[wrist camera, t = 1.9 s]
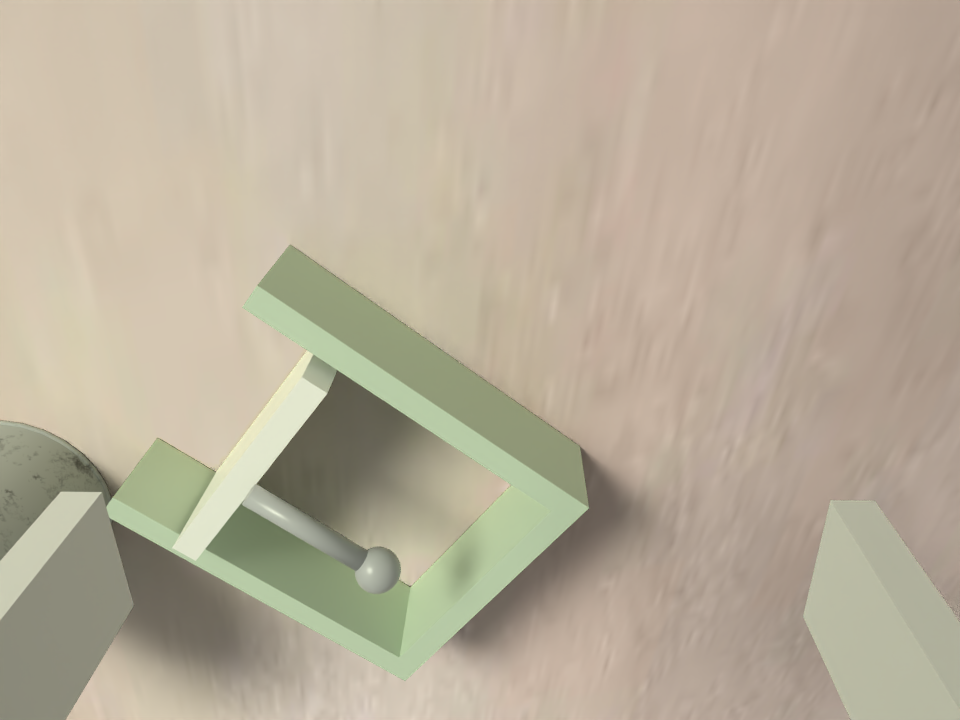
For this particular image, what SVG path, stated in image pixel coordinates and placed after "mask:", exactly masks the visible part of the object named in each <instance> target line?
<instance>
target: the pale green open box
mask: <svg viewBox="0 0 960 720" xmlns="http://www.w3.org/2000/svg"><path fill="white" fill-rule="evenodd" d="M242 308H244V309H245V310H247V311H248V312H250V313H251V314H253V315H254V316H256V317H257V318H259V319H260V320H262V321H263V322H265V323H267V324H268V325H270V326H271V327H273V328H274V329H276V330H277V331H279V332H280V333H282V334H283V335H285V336H286V337H288V338H289V339H291V340H292V341H294V342H295V343H297V344H298V345H300V346H301V347H303V348H304V349H306V350H307V351H309V352H311V353H312V354H314V355H315V356H317V357H318V358H320V359H321V360H323V361H324V362H326V363H327V364H329V365H330V366H332V367H333V368H335V369H336V370H338V371H339V372H341V373H342V374H344V375H345V376H347V377H348V378H350V379H351V380H353V381H355V382H356V383H358V384H359V385H361V386H362V387H364V388H365V389H367V390H368V391H370V392H371V393H373V394H374V395H376V396H377V397H379V398H380V399H382V400H383V401H385V402H386V403H388V404H389V405H391V406H392V407H394V408H395V409H397V410H399V411H400V412H402V413H403V414H405V415H406V416H408V417H409V418H411V419H412V420H414V421H415V422H417V423H418V424H420V425H421V426H423V427H424V428H426V429H427V430H429V431H430V432H432V433H433V434H435V435H436V436H438V437H439V438H441V439H443V440H444V441H446V442H447V443H449V444H450V445H452V446H453V447H455V448H456V449H458V450H459V451H461V452H462V453H464V454H465V455H467V456H468V457H470V458H471V459H473V460H474V461H476V462H477V463H479V464H480V465H482V466H484V467H485V468H487V469H488V470H490V471H491V472H493V473H494V474H496V475H497V476H499V477H500V478H502V479H503V480H505V481H506V482H508V483H509V484H511V486H510V487H509V488H508V489H507V490H506V491H505V492H504V493H503V494H502V495H501V496H500V497H499V498H498V499H497V500H496V501H495V502H494V503H493V504H492V505H491V506H490V507H489V508H488V509H487V510H486V511H485V512H484V513H483V514H482V515H481V516H480V517H479V518H478V519H477V520H476V521H475V522H474V523H473V524H472V525H471V526H470V527H469V529H468V530H467V531H466V532H465V533H464V534H463V535H462V536H461V537H460V538H459V539H458V540H457V541H456V542H455V543H454V544H453V545H452V546H451V547H450V548H449V549H448V550H447V551H446V552H445V553H444V554H443V555H442V556H441V557H440V558H439V559H438V560H437V561H436V562H435V563H434V564H433V565H432V566H431V567H430V568H429V569H428V570H427V571H426V572H425V573H424V574H423V575H422V576H421V577H420V578H419V579H418V580H417V581H416V582H415V583H414V584H413V585H412V586H411V587H409V586H408V585H406V584H404V583H402V582H401V581H399V580H398V582H397V583H396V585H395V586H394V587H393V588H392V589H391V590H389V591H387V592H385V593H382V594H372V593H369V592H366V591H365V590H363V589H362V588H361V587H360V586H359V584H358V583H357V581H356V578H355V571H354V570H353V569H351V568H349V567H348V566H346V565H344V564H342V563H341V562H339V561H337V560H336V559H334V558H332V557H330V556H329V555H327V554H325V553H324V552H322V551H320V550H318V549H317V548H315V547H313V546H312V545H310V544H308V543H307V542H305V541H303V540H301V539H300V538H298V537H296V536H295V535H293V534H291V533H289V532H288V531H286V530H284V529H283V528H281V527H279V526H277V525H276V524H274V523H272V522H271V521H269V520H267V519H265V518H264V517H262V516H260V515H259V514H257V513H255V512H253V511H252V510H250V509H248V508H247V507H245V506H243V505H242V503H243V501H244V500H243V501H242V503H241V504H240V505H239V507H238V508H237V509H236V510H235V512H234V513H233V514H232V515H231V517H230V518H229V519H228V521H227V522H226V523H225V524H224V526H223V527H222V528H221V529H220V531H219V532H218V533H217V535H216V536H215V537H214V538H213V540H212V541H211V542H210V543H209V545H208V546H207V547H206V549H205V550H204V551H203V552H202V554H201V555H200V556H199V557H198V559H197V560H196V561H195V560H193V559H191V558H189V557H188V556H186V555H184V554H182V553H180V552H179V551H177V550H175V549H173V548H172V547H173V546H174V544H175V542H176V540H177V539H178V537H179V535H180V534H181V532H182V530H183V528H184V527H185V525H186V523H187V522H188V520H189V518H190V516H191V515H192V513H193V511H194V510H195V508H196V506H197V504H198V503H199V501H200V499H201V498H202V496H203V494H204V492H205V491H206V489H207V487H208V486H209V484H210V482H211V480H212V479H213V477H214V475H215V474H216V472H214V471H213V470H211V469H209V468H208V467H206V466H204V465H203V464H201V463H199V462H198V461H196V460H194V459H192V458H191V457H189V456H187V455H186V454H184V453H182V452H181V451H179V450H177V449H176V448H174V447H172V446H170V445H169V444H167V443H165V442H164V441H162V440H160V439H159V438H157V439H156V441H155V442H154V443H153V445H152V446H151V447H150V448H149V450H148V451H147V452H146V454H145V455H144V456H143V458H142V459H141V460H140V462H139V463H138V464H137V466H136V467H135V468H134V470H133V471H132V472H131V474H130V475H129V476H128V478H127V479H126V480H125V482H124V483H123V484H122V486H121V487H120V488H119V490H118V491H117V492H116V494H115V495H114V496H113V498H112V499H111V501H110V502H109V504H108V505H107V507H106V508H107V512H108V515H109V518H110V519H112V520H114V521H116V522H118V523H119V524H121V525H123V526H125V527H127V528H129V529H130V530H132V531H134V532H136V533H138V534H139V535H141V536H143V537H145V538H147V539H148V540H150V541H152V542H154V543H156V544H158V545H159V546H161V547H163V548H165V549H167V550H168V551H170V552H172V553H174V554H176V555H178V556H179V557H181V558H183V559H185V560H187V561H188V562H190V563H192V564H194V565H196V566H197V567H199V568H201V569H203V570H205V571H207V572H208V573H210V574H212V575H214V576H216V577H217V578H219V579H221V580H223V581H225V582H226V583H228V584H230V585H232V586H234V587H236V588H237V589H239V590H241V591H243V592H245V593H246V594H248V595H250V596H252V597H254V598H256V599H257V600H259V601H261V602H263V603H265V604H266V605H268V606H270V607H272V608H274V609H275V610H277V611H279V612H281V613H283V614H285V615H286V616H288V617H290V618H292V619H294V620H295V621H297V622H299V623H301V624H303V625H304V626H306V627H308V628H310V629H312V630H314V631H315V632H317V633H319V634H321V635H323V636H324V637H326V638H328V639H330V640H332V641H334V642H335V643H337V644H339V645H341V646H343V647H344V648H346V649H348V650H350V651H352V652H353V653H355V654H357V655H359V656H361V657H363V658H364V659H366V660H368V661H370V662H372V663H373V664H375V665H377V666H379V667H381V668H382V669H384V670H386V671H388V672H390V673H392V674H393V675H395V676H397V677H399V678H401V679H402V680H404V681H406V680H407V679H408V678H409V677H410V676H411V675H412V674H413V673H414V672H415V671H416V670H417V669H418V668H419V667H421V666H422V665H423V664H424V663H425V662H426V661H427V660H428V659H429V658H430V657H431V656H432V655H433V654H434V653H435V652H436V651H438V650H439V649H440V648H441V647H442V646H443V645H444V644H445V643H446V642H447V641H448V640H449V639H450V638H451V637H452V636H454V635H455V634H456V633H457V632H458V631H459V630H460V629H461V628H462V627H463V626H464V625H465V624H466V623H467V622H468V621H469V620H471V619H472V618H473V617H474V616H475V615H476V614H477V613H478V612H479V611H480V610H481V609H482V608H483V607H484V606H485V605H486V604H488V603H489V602H490V601H491V600H492V599H493V598H494V597H495V596H496V595H497V594H498V593H499V592H500V591H501V590H502V589H504V588H505V587H506V586H507V585H508V584H509V583H510V582H511V581H512V580H513V579H514V578H515V577H516V576H517V575H518V574H519V573H521V572H522V571H523V570H524V569H525V568H526V567H527V566H528V565H529V564H530V563H531V562H532V561H533V560H534V559H535V558H537V557H538V556H539V555H540V554H541V553H542V552H543V551H544V550H545V549H546V548H547V547H548V546H549V545H550V544H551V543H552V542H554V541H555V540H556V539H557V538H558V537H559V536H560V535H561V534H562V533H563V532H564V531H565V530H566V529H567V528H568V527H570V526H571V525H572V524H573V523H574V522H575V521H576V520H577V519H578V518H579V517H580V516H581V515H582V514H583V513H584V512H585V511H587V510H588V509H589V504H588V497H587V491H586V484H585V477H584V471H583V464H582V457H581V451H580V446H579V445H577V444H576V443H574V442H573V441H571V440H570V439H569V438H567V437H566V436H564V435H563V434H561V433H560V432H558V431H557V430H556V429H554V428H553V427H551V426H550V425H548V424H547V423H546V422H544V421H543V420H541V419H540V418H538V417H537V416H535V415H534V414H533V413H531V412H530V411H528V410H527V409H525V408H524V407H523V406H521V405H520V404H518V403H517V402H515V401H514V400H512V399H511V398H510V397H508V396H507V395H505V394H504V393H502V392H501V391H500V390H498V389H497V388H495V387H494V386H492V385H491V384H489V383H488V382H487V381H485V380H484V379H482V378H481V377H479V376H478V375H477V374H475V373H474V372H472V371H471V370H469V369H468V368H466V367H465V366H464V365H462V364H461V363H459V362H458V361H456V360H455V359H454V358H452V357H451V356H449V355H448V354H446V353H445V352H443V351H442V350H441V349H439V348H438V347H436V346H435V345H433V344H432V343H431V342H429V341H428V340H426V339H425V338H423V337H422V336H420V335H419V334H418V333H416V332H415V331H413V330H412V329H410V328H409V327H408V326H406V325H405V324H403V323H402V322H400V321H399V320H397V319H396V318H395V317H393V316H392V315H390V314H389V313H387V312H386V311H385V310H383V309H382V308H380V307H379V306H377V305H376V304H374V303H373V302H372V301H370V300H369V299H367V298H366V297H364V296H363V295H361V294H360V293H359V292H357V291H356V290H354V289H353V288H351V287H350V286H349V285H347V284H346V283H344V282H343V281H341V280H340V279H338V278H337V277H336V276H334V275H333V274H331V273H330V272H328V271H327V270H326V269H324V268H323V267H321V266H320V265H318V264H317V263H315V262H314V261H313V260H311V259H310V258H308V257H307V256H305V255H304V254H303V253H301V252H300V251H298V250H297V249H295V248H294V247H292V246H291V245H289V246H288V248H287V249H286V250H285V251H284V253H283V254H282V255H281V256H280V258H279V259H278V260H277V261H276V263H275V264H274V265H273V266H272V268H271V269H270V270H269V271H268V273H267V274H266V275H265V276H264V278H263V279H262V280H261V281H260V283H259V284H258V285H257V287H256V288H255V290H254V291H253V293H252V294H251V295H250V297H249V298H248V300H247V301H246V303H245V304H244V306H243V307H242Z"/></svg>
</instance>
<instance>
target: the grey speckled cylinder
mask: <svg viewBox="0 0 960 720" xmlns="http://www.w3.org/2000/svg"><path fill="white" fill-rule="evenodd" d="M60 492H102V494H103V498H104V501H105V505H106V507H107V505H108V504H109V502H110V501H111V499H112V498H111V496H110V493H109V490H108V488H107V485H106V483H105V481H104V480H103V478H102V477H101V475H100V473H99V472H98V470H97V469H96V467H95V466H94V465H93V464H92V463H91V462H90V461H89V460H88V459H87V458H86V457H85V456H84V455H83V454H82V453H81V452H80V451H78V450H77V449H76V448H74V447H73V446H72V445H70V444H69V443H68V442H66V441H65V440H63V439H61V438H59V437H57V436H55V435H53V434H51V433H49V432H47V431H45V430H43V429H40V428H37V427H33V426H30V425H27V424H24V423H18V422H10V421H3V420H2V421H0V561H1V560H2V558H3V557H4V556H5V555H6V554H7V553H8V552H9V550H10V549H11V548H12V547H13V546H14V545H15V544H16V542H17V541H18V540H19V539H20V538H21V537H22V536H23V534H24V533H25V532H26V531H27V530H28V529H29V528H30V526H31V525H32V524H33V523H34V522H35V521H36V520H37V518H38V517H39V516H40V515H41V514H42V513H43V512H44V510H45V509H46V508H47V507H48V506H49V505H50V504H51V502H52V501H53V500H54V499H55V498H56V497H57V496H58V494H59V493H60ZM109 519H110V518H109ZM110 522H111V524H112V519H110Z"/></svg>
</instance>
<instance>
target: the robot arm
mask: <svg viewBox="0 0 960 720" xmlns="http://www.w3.org/2000/svg"><path fill="white" fill-rule="evenodd" d="M133 606H134V604H133V600H132V597H131V593H130V590H129V586H128V583H127V579H126V575H125V572H124V568H123V565H122V561H121V558H120V554H119V551H118V547H117V544H116V540H115V537H114V533H113V530H112V526H111V522H110V519H109V515H108V512H107V508H106V505H105V501H104V498H103V494H102V492H60V493H59V494H58V496H57V497H56V498H55V499H54V500H53V501H52V502H51V504H50V505H49V506H48V507H47V508H46V509H45V510H44V512H43V513H42V514H41V515H40V516H39V517H38V518H37V520H36V521H35V522H34V523H33V524H32V525H31V526H30V528H29V529H28V530H27V531H26V532H25V533H24V534H23V536H22V537H21V538H20V539H19V540H18V541H17V542H16V544H15V545H14V546H13V547H12V548H11V549H10V550H9V552H8V553H7V554H6V555H5V556H4V557H3V558H2V560H1V561H0V720H66V718H67V717H68V715H69V713H70V712H71V710H72V708H73V707H74V705H75V703H76V702H77V700H78V698H79V697H80V695H81V693H82V692H83V690H84V688H85V686H86V685H87V683H88V681H89V680H90V678H91V676H92V675H93V673H94V671H95V670H96V668H97V666H98V665H99V663H100V661H101V660H102V658H103V656H104V655H105V653H106V651H107V650H108V648H109V646H110V645H111V643H112V641H113V640H114V638H115V636H116V635H117V633H118V631H119V630H120V628H121V626H122V625H123V623H124V621H125V620H126V618H127V616H128V615H129V613H130V611H131V610H132V608H133ZM803 617H804V620H805V622H806V624H807V626H808V628H809V630H810V633H811V635H812V637H813V639H814V641H815V643H816V646H817V648H818V650H819V652H820V654H821V656H822V659H823V661H824V663H825V665H826V667H827V670H828V672H829V674H830V676H831V678H832V680H833V683H834V685H835V687H836V689H837V691H838V693H839V696H840V698H841V700H842V702H843V704H844V706H845V709H846V711H847V713H848V715H849V717H850V719H851V720H960V622H959V620H958V619H957V618H956V616H955V615H954V613H953V612H952V610H951V609H950V608H949V606H948V605H947V603H946V602H945V600H944V599H943V598H942V596H941V595H940V593H939V592H938V590H937V589H936V588H935V586H934V585H933V583H932V582H931V580H930V579H929V578H928V576H927V575H926V573H925V572H924V570H923V569H922V568H921V566H920V565H919V563H918V562H917V560H916V559H915V558H914V556H913V555H912V553H911V552H910V550H909V549H908V548H907V546H906V545H905V543H904V542H903V540H902V539H901V538H900V536H899V535H898V533H897V532H896V530H895V529H894V528H893V526H892V525H891V523H890V522H889V520H888V519H887V518H886V516H885V515H884V513H883V512H882V510H881V509H880V508H879V506H878V505H877V503H876V502H875V501H856V500H831V501H830V505H829V509H828V513H827V518H826V522H825V526H824V530H823V534H822V539H821V543H820V547H819V551H818V556H817V560H816V564H815V568H814V572H813V577H812V581H811V585H810V589H809V594H808V598H807V602H806V606H805V611H804V615H803Z"/></svg>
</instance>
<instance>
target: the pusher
mask: <svg viewBox="0 0 960 720" xmlns="http://www.w3.org/2000/svg"><path fill="white" fill-rule="evenodd" d="M336 372H337V370H336V369H335V368H333V367H332V366H330V365H329V364H327V363H326V362H324V361H323V360H321V359H320V358H318V357H317V356H315V355H314V354H312V353H311V352H309V351H306V353H305V354H304V355H303V357H302V358H301V359H300V361H299V362H298V363H297V365H296V366H295V367H294V369H293V370H292V371H291V373H290V374H289V375H288V377H287V378H286V379H285V381H284V382H283V383H282V385H281V386H280V387H279V389H278V390H277V391H276V393H275V394H274V395H273V397H272V398H271V399H270V401H269V402H268V403H267V405H266V406H265V407H264V409H263V410H262V411H261V413H260V414H259V415H258V417H257V418H256V419H255V421H254V422H253V423H252V425H251V426H250V427H249V429H248V430H247V431H246V433H245V434H244V435H243V437H242V438H241V440H240V441H239V442H238V444H237V445H236V446H235V448H234V449H233V450H232V452H231V453H230V454H229V456H228V457H227V458H226V460H225V461H224V462H223V464H222V465H221V466H220V468H219V469H218V470H217V472H216V474H215V475H214V477H213V479H212V480H211V482H210V484H209V486H208V487H207V489H206V491H205V492H204V494H203V496H202V498H201V499H200V501H199V503H198V504H197V506H196V508H195V510H194V511H193V513H192V515H191V516H190V518H189V520H188V522H187V523H186V525H185V527H184V528H183V530H182V532H181V534H180V535H179V537H178V539H177V540H176V542H175V544H174V546H173V547H172V548H173V549H175V550H177V551H179V552H180V553H182V554H184V555H186V556H188V557H189V558H191V559H193V560H195V561H196V560H197V559H198V557H199V556H200V555H201V554H202V552H203V551H204V550H205V549H206V547H207V546H208V545H209V543H210V542H211V541H212V540H213V538H214V537H215V536H216V535H217V533H218V532H219V531H220V529H221V528H222V527H223V526H224V524H225V523H226V522H227V521H228V519H229V518H230V517H231V515H232V514H233V513H234V512H235V510H236V509H237V508H238V507H239V505H240V504H241V503H242V501H243V500H244V501H243V503H242V505H243V506H245V507H247V508H248V509H250V510H252V511H253V512H255V513H257V514H259V515H260V516H262V517H264V518H265V519H267V520H269V521H271V522H272V523H274V524H276V525H277V526H279V527H281V528H283V529H284V530H286V531H288V532H289V533H291V534H293V535H295V536H296V537H298V538H300V539H301V540H303V541H305V542H307V543H308V544H310V545H312V546H313V547H315V548H317V549H318V550H320V551H322V552H324V553H325V554H327V555H329V556H330V557H332V558H334V559H336V560H337V561H339V562H341V563H342V564H344V565H346V566H348V567H349V568H351V569H353V570H354V571H355V578H356V581H357V583H358V584H359V586H360V587H361V588H362V589H363V590H365V591H366V592H369V593H372V594H382V593H385V592H387V591H389V590H391V589H392V588H393V587H394V586H395V585H396V583H397V582H398V580H399V577H400V572H401V567H400V562H399V560H398V558H397V556H396V555H395V554H394V553H393V552H392V551H391V550H389V549H387V548H384V547H373V548H370V549H368V550H366V549H364V548H363V547H361V546H359V545H358V544H356V543H354V542H353V541H351V540H349V539H348V538H346V537H344V536H343V535H341V534H339V533H338V532H336V531H334V530H332V529H331V528H329V527H327V526H326V525H324V524H322V523H321V522H319V521H317V520H316V519H314V518H312V517H311V516H309V515H307V514H306V513H304V512H302V511H301V510H299V509H297V508H296V507H294V506H292V505H290V504H289V503H287V502H285V501H284V500H282V499H280V498H279V497H277V496H275V495H274V494H272V493H270V492H269V491H267V490H265V489H264V488H262V487H260V486H259V485H257V482H258V481H259V480H260V479H261V477H262V476H263V475H264V474H265V472H266V471H267V470H268V468H269V467H270V466H271V465H272V463H273V462H274V461H275V460H276V458H277V457H278V456H279V454H280V453H281V452H282V451H283V449H284V448H285V447H286V446H287V444H288V443H289V442H290V440H291V439H292V438H293V437H294V435H295V434H296V433H297V432H298V430H299V429H300V428H301V426H302V425H303V424H304V423H305V421H306V420H307V419H308V418H309V416H310V415H311V414H312V412H313V411H314V410H315V409H316V407H317V406H318V405H319V404H320V402H321V401H322V400H323V398H324V397H325V396H326V395H327V393H328V391H329V389H330V386H331V384H332V382H333V379H334V377H335V375H336Z"/></svg>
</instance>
